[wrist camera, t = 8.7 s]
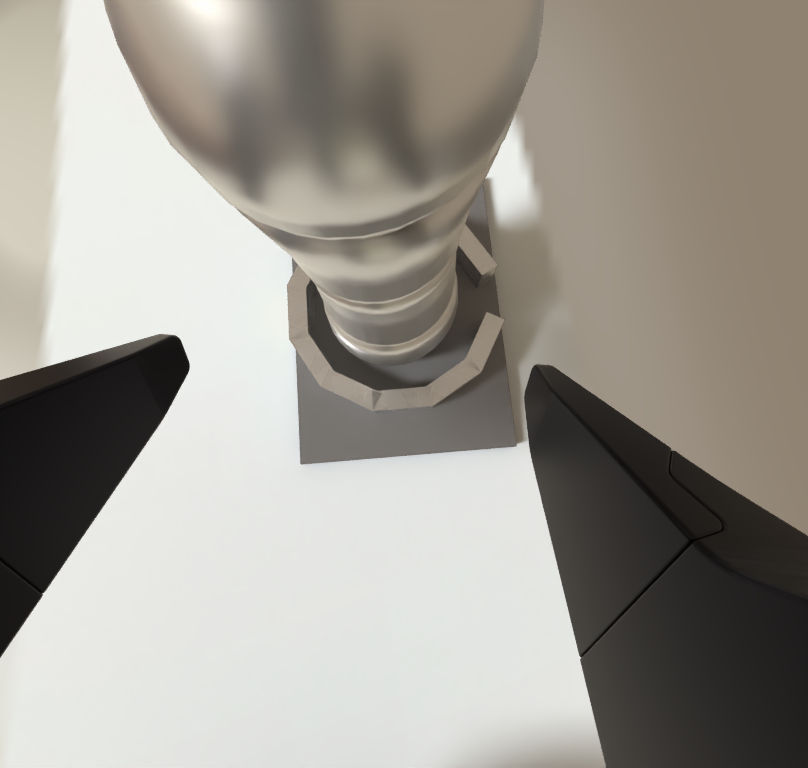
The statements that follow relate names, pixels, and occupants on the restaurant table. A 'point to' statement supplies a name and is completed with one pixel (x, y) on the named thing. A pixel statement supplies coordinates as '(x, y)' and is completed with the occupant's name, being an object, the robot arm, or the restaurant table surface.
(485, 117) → the plastic bottle
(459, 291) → the ring mat
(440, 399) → the split ring
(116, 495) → the restaurant table surface
